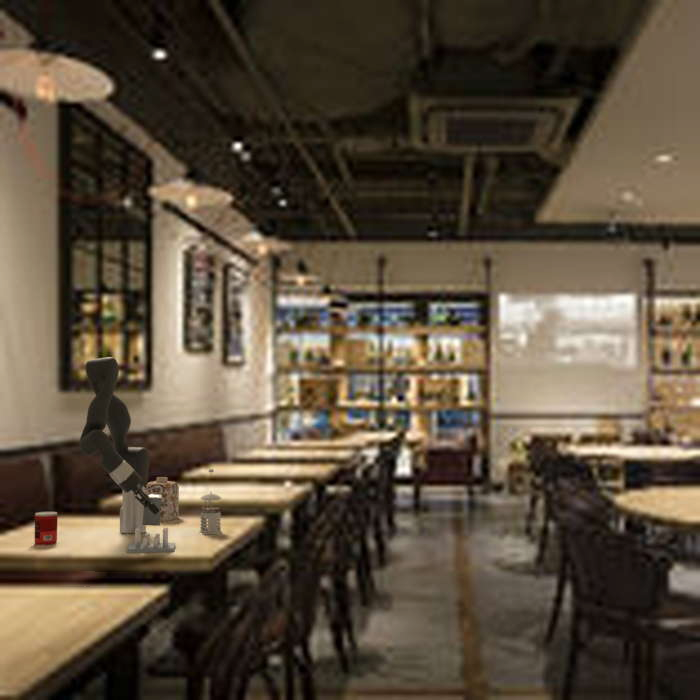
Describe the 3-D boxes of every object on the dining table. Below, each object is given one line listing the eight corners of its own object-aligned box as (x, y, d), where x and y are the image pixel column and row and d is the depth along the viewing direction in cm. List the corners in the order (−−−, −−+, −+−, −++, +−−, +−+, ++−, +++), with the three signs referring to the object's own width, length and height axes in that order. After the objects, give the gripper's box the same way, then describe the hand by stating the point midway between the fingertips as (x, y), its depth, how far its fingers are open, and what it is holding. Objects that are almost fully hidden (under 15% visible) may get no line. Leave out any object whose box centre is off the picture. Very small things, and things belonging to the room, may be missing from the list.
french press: (202, 535, 368) (203, 470, 369) (193, 531, 379) (193, 468, 380) (226, 533, 373) (227, 469, 374) (216, 529, 383) (217, 467, 384)
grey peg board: (126, 552, 331) (126, 531, 331) (130, 546, 343) (130, 526, 343) (173, 551, 333) (173, 530, 333) (175, 545, 345) (175, 525, 345)
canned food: (61, 542, 351) (61, 512, 351) (47, 545, 343) (48, 515, 344) (43, 541, 353) (44, 511, 354) (29, 544, 346) (30, 513, 346)
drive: (142, 525, 339) (144, 497, 338) (142, 521, 344) (144, 493, 343) (159, 525, 340) (161, 497, 339) (159, 521, 345) (161, 494, 344)
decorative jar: (143, 520, 407) (144, 478, 408) (153, 516, 419) (154, 475, 419) (170, 521, 405) (170, 478, 406) (179, 517, 417) (180, 476, 417)
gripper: (118, 478, 345) (149, 512, 348) (115, 488, 331) (148, 523, 334) (134, 465, 346) (165, 499, 349) (132, 473, 332) (165, 508, 335)
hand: (157, 510), depth 342 cm, fingers closed on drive, 5 cm apart
